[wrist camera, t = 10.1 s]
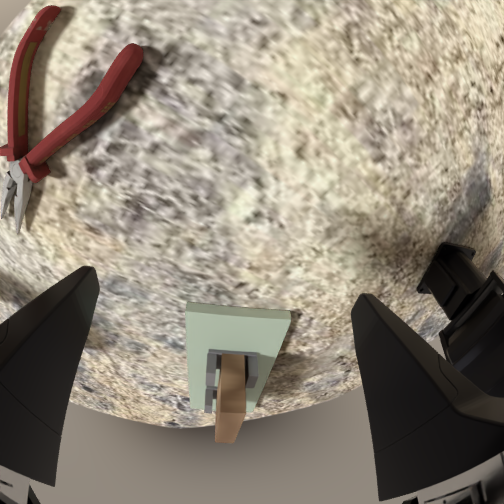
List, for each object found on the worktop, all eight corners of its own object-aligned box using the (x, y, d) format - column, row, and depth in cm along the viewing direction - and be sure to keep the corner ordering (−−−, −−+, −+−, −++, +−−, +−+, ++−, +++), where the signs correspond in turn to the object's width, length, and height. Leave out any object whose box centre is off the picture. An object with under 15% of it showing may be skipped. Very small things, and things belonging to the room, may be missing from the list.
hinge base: (289, 310, 26) (295, 343, 23) (252, 406, 40) (253, 427, 36) (186, 301, 25) (180, 335, 22) (191, 402, 39) (189, 424, 35)
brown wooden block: (244, 354, 28) (246, 413, 22) (233, 399, 35) (233, 443, 29) (221, 353, 28) (220, 412, 22) (216, 397, 34) (215, 442, 29)
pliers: (-15, 193, 17) (-29, 204, 15) (57, 4, 9) (38, 0, 7) (54, 248, 22) (42, 264, 20) (155, 54, 14) (143, 50, 11)
